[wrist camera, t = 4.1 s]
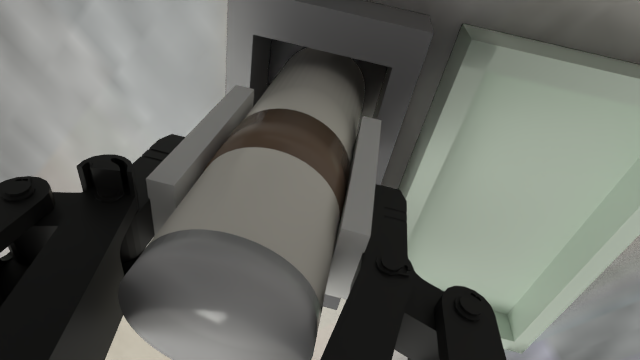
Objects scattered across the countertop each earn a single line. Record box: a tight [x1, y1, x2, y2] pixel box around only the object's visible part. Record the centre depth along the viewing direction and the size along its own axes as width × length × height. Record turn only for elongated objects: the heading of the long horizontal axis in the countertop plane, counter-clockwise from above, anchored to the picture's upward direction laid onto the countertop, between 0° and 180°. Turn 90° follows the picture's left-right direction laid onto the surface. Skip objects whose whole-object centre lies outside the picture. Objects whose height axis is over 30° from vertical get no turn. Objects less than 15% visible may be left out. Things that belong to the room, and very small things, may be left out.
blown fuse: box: [118, 48, 365, 360], centre depth 14 cm, size 4×4×14 cm
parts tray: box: [398, 24, 640, 353], centre depth 20 cm, size 18×11×3 cm, turn 170°
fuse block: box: [225, 0, 434, 310], centre depth 21 cm, size 18×9×3 cm, turn 170°
